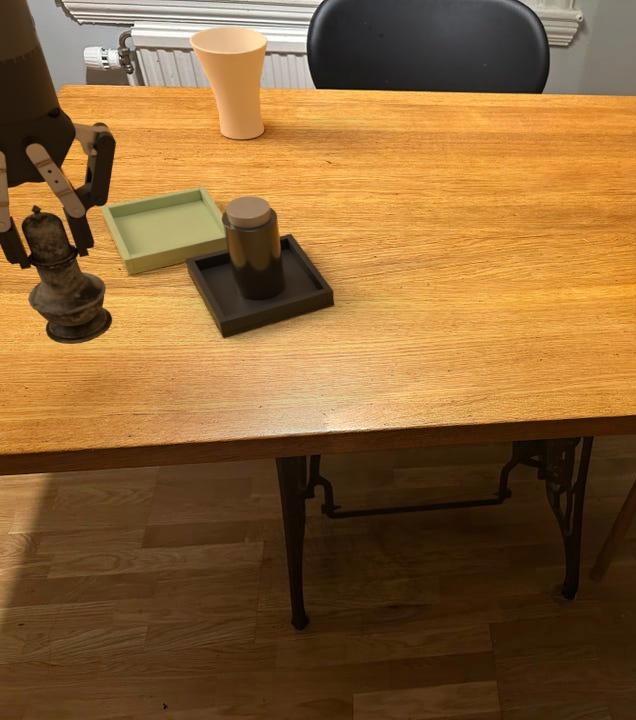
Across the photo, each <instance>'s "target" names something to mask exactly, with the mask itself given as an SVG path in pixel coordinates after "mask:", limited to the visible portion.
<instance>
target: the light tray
mask: <svg viewBox="0 0 636 720" xmlns="http://www.w3.org/2000/svg"><path fill="white" fill-rule="evenodd" d="M100 210H101V213H102V217H103V220H104V223H105V225H106V227H107V229H108V232H109V233H110V236H111V238H112V241H113V244H114V245H115V247H116V250H117V252H118V254H119V256H120V259H121V261H122V264H123V266H124V268H125V270H126V273H127V274H128V276H131V275H136V274H140V273H145V272H149V271H153V270H158V269H162V268H166V267H169V266H173V265H177V264H181V263H182V264H183V263H186V260H185V259H187V258H191V257H192V258H193V257H196V256H200V255H204V254H208V253H212V252H217V251H221V250H225V249H227V245H226V240H225V235H224V229H223V224H222V216H223V214H224V213H222V211H221V210H220V208H219V207H218V205H217V204H216V202H215V200H214V198H213V197H212V196H211V194H210V192H209V191H208V190H207V188H206V186H205V185H202V186H197V187H193V188H186V189H181V190H177V191H171V192H167V193H160V194H155V195H151V196H146V197H140V198H135V199H131V200H126V201H120V202H115V203H110V204H107V205H106V204H105V205H103V206H100Z"/></svg>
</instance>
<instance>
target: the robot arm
mask: <svg viewBox="0 0 636 720" xmlns="http://www.w3.org/2000/svg"><path fill="white" fill-rule="evenodd" d="M37 31H38V30H37V29H36V21H35V19H34V16H33V15H32V12H31V9H30V6H29V3H28V0H0V247H1V250H2V252H3V254H4V257H5V259H6V261H7V262H8V263H9V264H11V265H17V264H18V265H19V267H20V269H21V270H26V269H31V268H32V265H31V264H30V262H29V258H28V257H29V255H28V252H27V250H26V247H25V245H24V243H23V240H22V237H21V235H20V232H19V230H18V228H17V227H18V226H17V225H16V222H15V220H14V217H13V216H12V215H11V213H10V196H9V189H12V188H17V187H19V186H21V185H23V184H26V183H30V184H31V183H33V184H41V183H46V184H47V186H49V189H50V190H51V191H52V193H53V194H54V195H55V197H57V199H58V200H59V201H60V204H61V205H62V207H61V209H62V210H63V214H64V216H65V219H66V222H67V225H68V228H69V231H70V234H71V236H72V239H73V242H74V246H75V247H76V248H77V250H78V256H79V258H84V257H88V256H90V253H89V251H88V249H89V250H90V249H94V247H95V240H94V236H93V233H92V229H91V227H90V223H89V221H88V217H87V213H88V211H89V210H91V209H92V208H93V207H94V208H95V207H101V206H105V205H106V204H107V203H108V201H109V200H108V199H109V193H110V187H111V179H112V173H113V168H114V167H113V166H114V161H115V154H116V146H117V141H116V138H115V137H114V135H113V132H112V131H111V130H110V128H109V126H108V125H107V124H106V123H104V122H100V121H99V122H95V123H94V124H93V125H89V124H83V123H78V122H73V120H72V119H71V117H70V116H69V115H68V114H67V113H66V112H65V111H64V110H63V109H62V107H61V104H60V101H59V97H58V94H57V91H56V89H55V85H54V82H53V79H52V76H51V71H50V69H49V66H48V63H47V59H46V57H45V53H44V50H43V47H42V45H41V41H40V37H39V34H38V32H37ZM75 140H76V141H78V142H80V147H81V149H82V151H83V153H84V154H85V155H87V161H86V169H85V177H84V183H83V185H81V186H79V187H77V188H75V186H74V185H73V183H72V181H71V179H69V177H68V175H67V173H66V172H65V170H64V169H63V167H62V166H63V165H64V162H65V160H66V158H67V155H68V154H69V152H70V150H71V147H72V146H73V143H74V141H75Z"/></svg>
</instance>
